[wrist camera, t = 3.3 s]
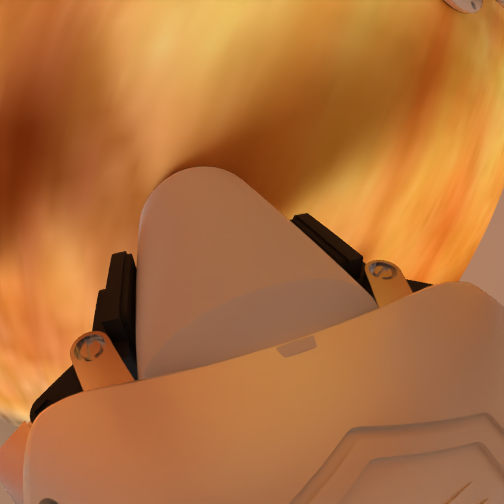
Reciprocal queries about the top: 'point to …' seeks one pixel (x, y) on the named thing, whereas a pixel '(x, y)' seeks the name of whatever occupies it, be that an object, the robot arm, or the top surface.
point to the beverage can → (229, 276)
